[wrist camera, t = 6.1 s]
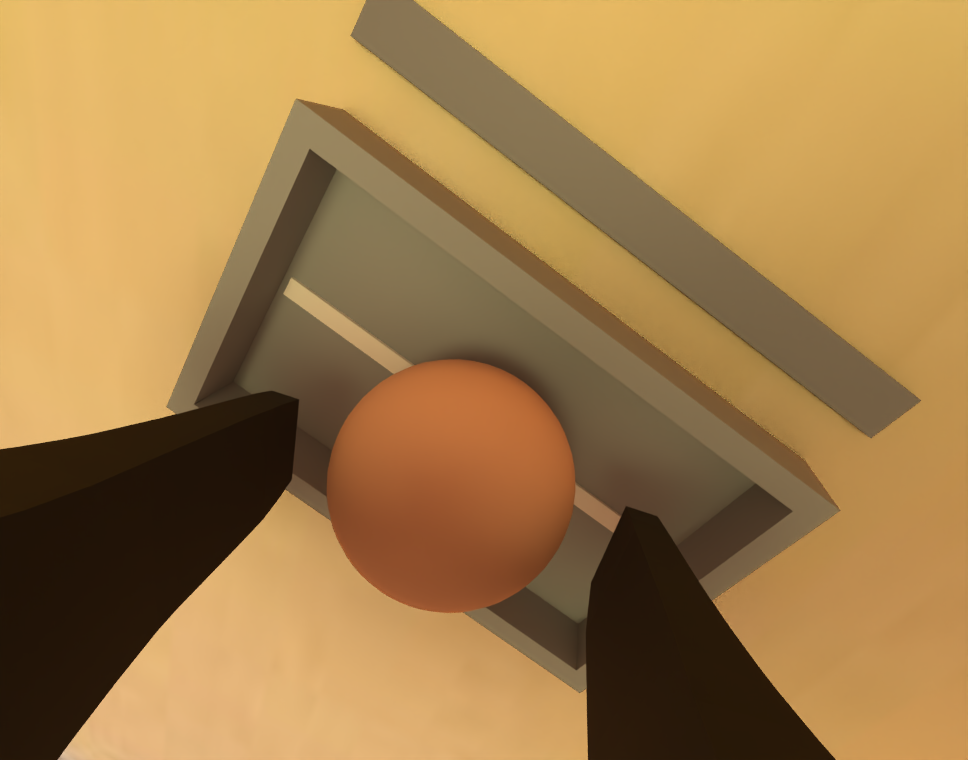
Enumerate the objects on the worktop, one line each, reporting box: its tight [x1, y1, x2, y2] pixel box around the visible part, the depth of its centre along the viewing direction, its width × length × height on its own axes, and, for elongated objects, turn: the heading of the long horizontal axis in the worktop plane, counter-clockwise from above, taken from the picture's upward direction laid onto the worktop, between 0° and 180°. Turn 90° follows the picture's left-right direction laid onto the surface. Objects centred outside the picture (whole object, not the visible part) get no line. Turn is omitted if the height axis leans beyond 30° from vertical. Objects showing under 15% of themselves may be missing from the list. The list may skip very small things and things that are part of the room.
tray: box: [167, 99, 840, 693], centre depth 12 cm, size 13×8×2 cm, turn 55°
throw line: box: [351, 0, 921, 438], centre depth 10 cm, size 14×1×1 cm, turn 55°
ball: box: [327, 359, 576, 613], centre depth 10 cm, size 5×5×5 cm
